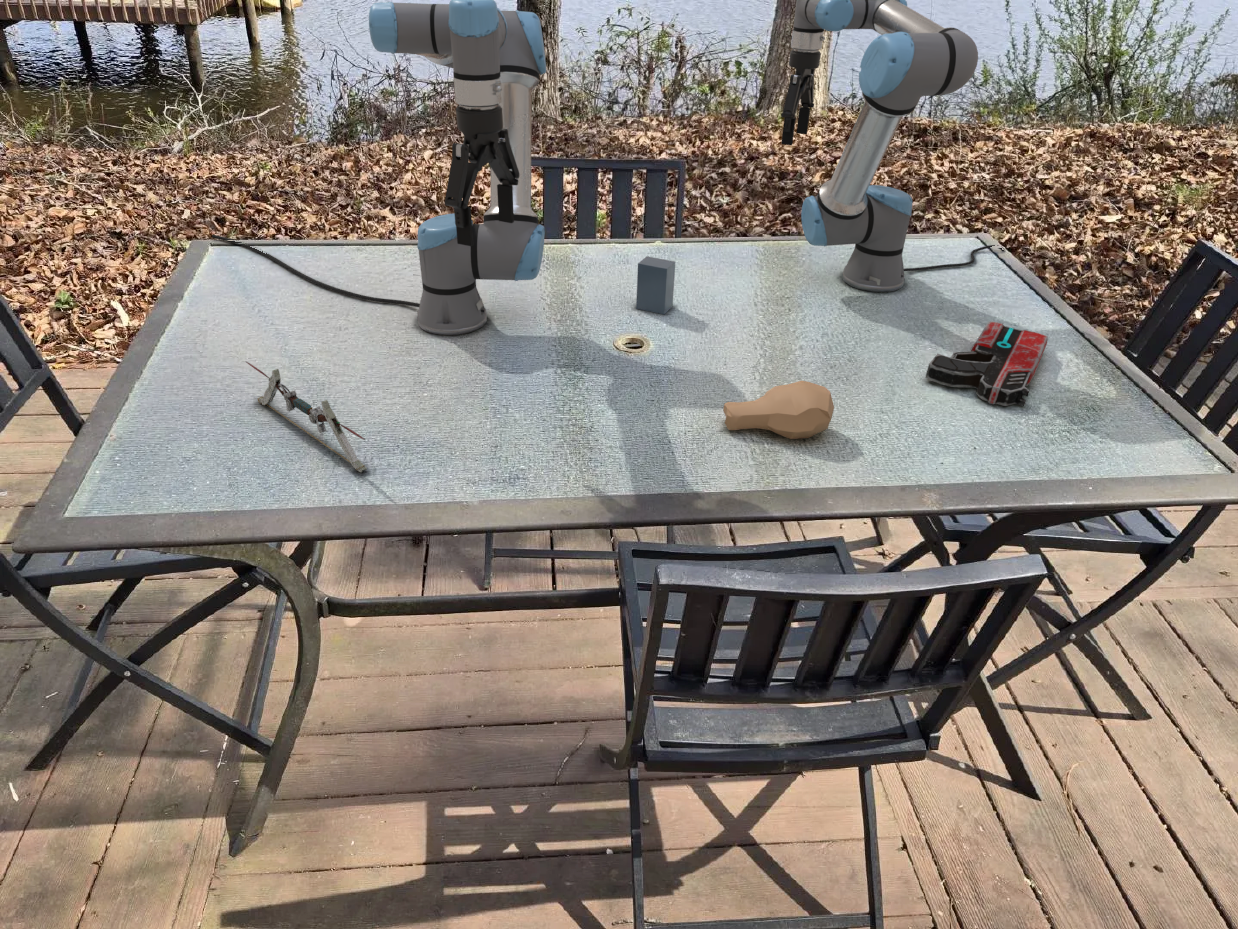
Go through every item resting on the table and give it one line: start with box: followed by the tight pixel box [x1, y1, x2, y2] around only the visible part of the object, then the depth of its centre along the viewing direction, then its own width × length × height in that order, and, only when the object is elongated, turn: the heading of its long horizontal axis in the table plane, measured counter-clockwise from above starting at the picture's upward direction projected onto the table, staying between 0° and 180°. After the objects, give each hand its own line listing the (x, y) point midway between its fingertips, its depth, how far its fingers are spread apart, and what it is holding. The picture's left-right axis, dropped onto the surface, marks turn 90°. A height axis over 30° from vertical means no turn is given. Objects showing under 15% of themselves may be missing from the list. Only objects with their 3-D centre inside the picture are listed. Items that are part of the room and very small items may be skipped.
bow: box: [244, 360, 368, 473], centre depth 153 cm, size 39×2×10 cm, turn 47°
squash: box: [722, 380, 835, 440], centre depth 159 cm, size 11×20×9 cm, turn 90°
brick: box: [635, 256, 676, 315], centre depth 203 cm, size 7×5×11 cm
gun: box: [925, 320, 1049, 407], centre depth 183 cm, size 4×31×19 cm
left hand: (486, 232), depth 154 cm, fingers open, 13 cm apart
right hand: (794, 138), depth 229 cm, fingers open, 13 cm apart
